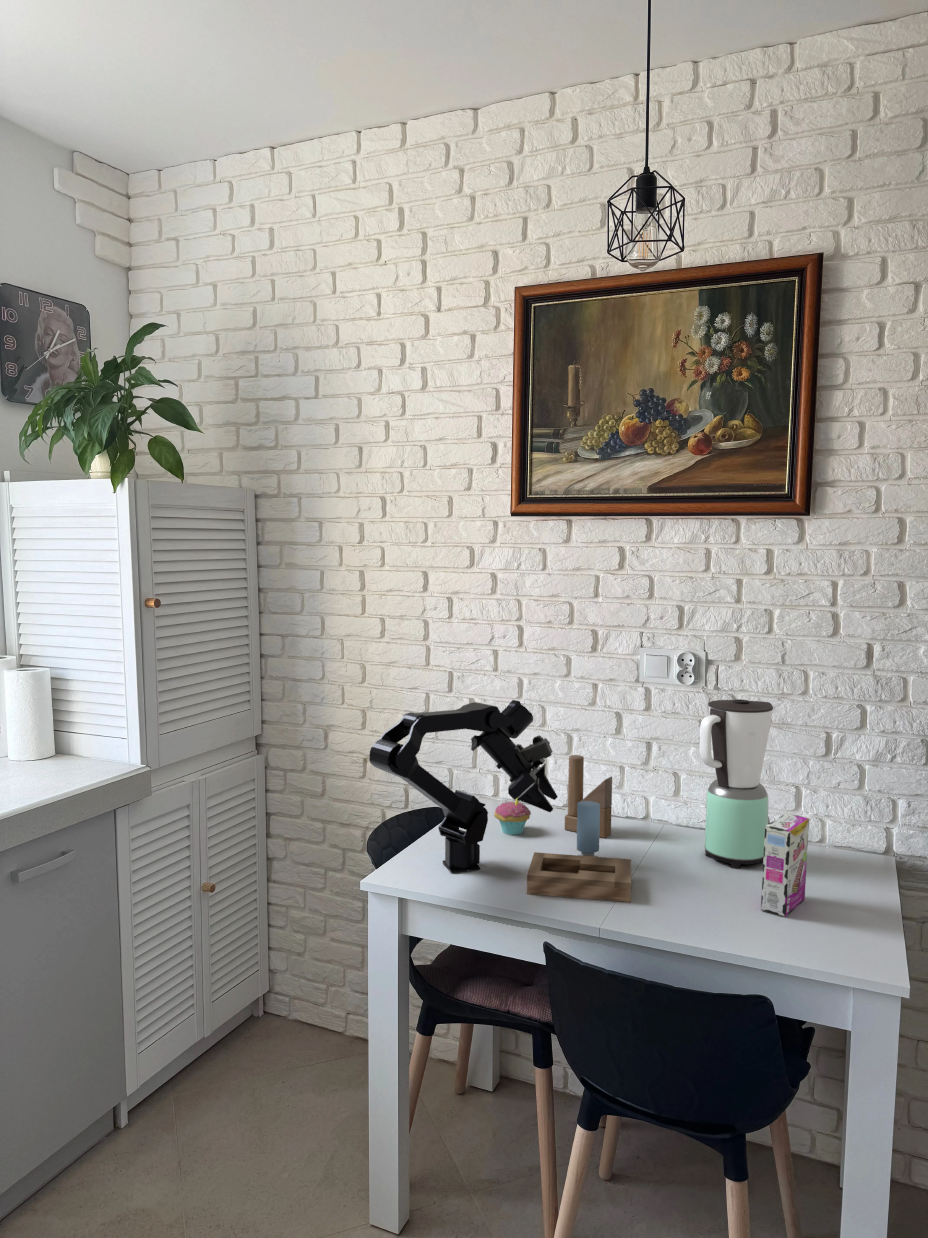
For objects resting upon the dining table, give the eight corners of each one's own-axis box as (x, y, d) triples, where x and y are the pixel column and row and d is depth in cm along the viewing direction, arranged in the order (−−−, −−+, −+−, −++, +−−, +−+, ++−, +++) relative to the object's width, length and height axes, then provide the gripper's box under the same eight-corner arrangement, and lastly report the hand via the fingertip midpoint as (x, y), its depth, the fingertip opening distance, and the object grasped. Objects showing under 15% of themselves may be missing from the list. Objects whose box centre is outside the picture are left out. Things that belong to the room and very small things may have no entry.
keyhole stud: (581, 870, 183) (582, 809, 182) (568, 860, 189) (569, 801, 188) (606, 867, 185) (607, 807, 184) (593, 857, 191) (594, 799, 190)
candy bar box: (786, 918, 160) (790, 831, 159) (760, 911, 163) (763, 825, 162) (807, 900, 169) (810, 817, 167) (781, 893, 172) (784, 812, 171)
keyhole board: (526, 893, 171) (526, 875, 170) (534, 870, 183) (534, 852, 183) (630, 902, 167) (631, 883, 167) (630, 877, 180) (631, 859, 179)
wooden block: (604, 839, 203) (606, 763, 202) (564, 830, 209) (565, 756, 208) (611, 835, 206) (613, 760, 205) (571, 826, 212) (572, 753, 211)
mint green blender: (739, 843, 201) (744, 693, 198) (786, 862, 189) (792, 702, 186) (677, 857, 192) (681, 699, 189) (723, 877, 180) (728, 710, 177)
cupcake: (536, 830, 209) (537, 781, 208) (519, 840, 202) (520, 789, 201) (505, 824, 214) (505, 776, 213) (487, 833, 207) (488, 784, 206)
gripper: (524, 735, 178) (577, 792, 177) (535, 718, 196) (584, 769, 195) (486, 771, 180) (538, 827, 179) (500, 751, 198) (548, 801, 197)
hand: (554, 804), depth 187 cm, fingers open, 9 cm apart
